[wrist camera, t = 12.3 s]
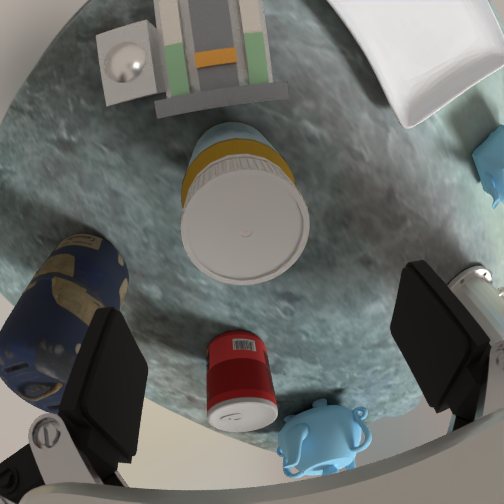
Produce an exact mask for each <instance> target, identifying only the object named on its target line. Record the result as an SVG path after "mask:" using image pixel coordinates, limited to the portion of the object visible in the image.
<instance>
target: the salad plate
mask: <svg viewBox="0 0 504 504" xmlns="http://www.w3.org/2000/svg"><path fill="white" fill-rule="evenodd" d="M327 2H328V3H329V4H330V5H331V7H332V8H333V9H334V10H335V12H336V13H337V14H338V16H339V17H340V18H341V20H342V21H343V23H344V24H345V25H346V27H347V28H348V30H349V31H350V33H351V34H352V36H353V37H354V39H355V40H356V42H357V43H358V45H359V46H360V48H361V50H362V51H363V53H364V55H365V56H366V58H367V60H368V62H369V64H370V65H371V67H372V69H373V71H374V73H375V75H376V77H377V79H378V81H379V83H380V85H381V87H382V90H383V92H384V94H385V96H386V98H387V100H388V102H389V104H390V106H391V108H392V110H393V112H394V114H395V116H396V118H397V120H398V121H399V123H400V124H401V125H402V126H403V127H404V128H405V129H409V128H412V127H414V126H416V125H418V124H419V123H421V122H422V121H424V120H426V119H427V118H429V117H430V116H431V115H433V114H434V113H436V112H437V111H438V110H440V109H441V108H443V107H444V106H445V105H447V104H448V103H450V102H451V101H453V100H454V99H455V98H457V97H458V96H459V95H461V94H462V93H464V92H465V91H466V90H468V89H469V88H471V87H472V86H474V85H475V84H477V83H478V82H480V81H481V80H483V79H484V78H486V77H487V76H489V75H491V74H492V73H494V72H495V71H497V70H499V69H500V68H502V67H503V66H504V35H503V33H502V30H501V28H500V26H499V23H498V21H497V19H496V17H495V15H494V12H493V10H492V8H491V6H490V4H489V2H488V0H327Z"/></svg>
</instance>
